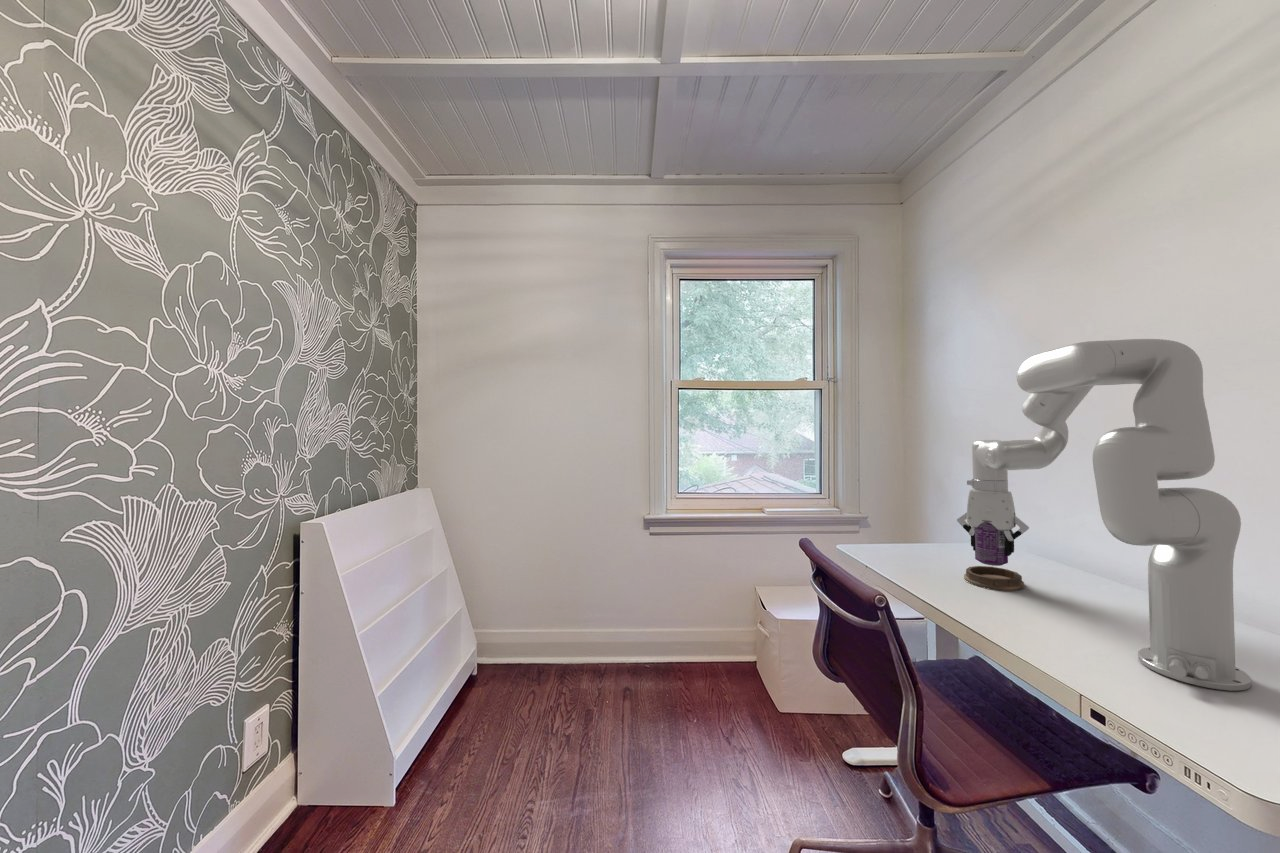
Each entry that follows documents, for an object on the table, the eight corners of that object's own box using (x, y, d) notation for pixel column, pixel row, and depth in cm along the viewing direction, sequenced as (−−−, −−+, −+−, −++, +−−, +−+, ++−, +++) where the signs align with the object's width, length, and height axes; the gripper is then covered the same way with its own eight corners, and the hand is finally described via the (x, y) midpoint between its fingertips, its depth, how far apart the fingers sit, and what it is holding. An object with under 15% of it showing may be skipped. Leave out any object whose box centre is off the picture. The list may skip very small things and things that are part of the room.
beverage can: (1006, 561, 128) (1005, 517, 127) (1009, 568, 122) (1008, 522, 121) (974, 557, 131) (973, 515, 131) (976, 564, 125) (974, 520, 125)
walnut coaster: (1017, 594, 117) (1017, 584, 117) (957, 582, 127) (956, 572, 127) (1030, 582, 125) (1029, 572, 125) (972, 571, 135) (972, 562, 135)
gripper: (948, 484, 130) (950, 549, 130) (1027, 490, 117) (1029, 561, 117) (957, 481, 135) (959, 543, 135) (1034, 487, 122) (1036, 555, 122)
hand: (992, 551), depth 126 cm, fingers closed on beverage can, 6 cm apart
